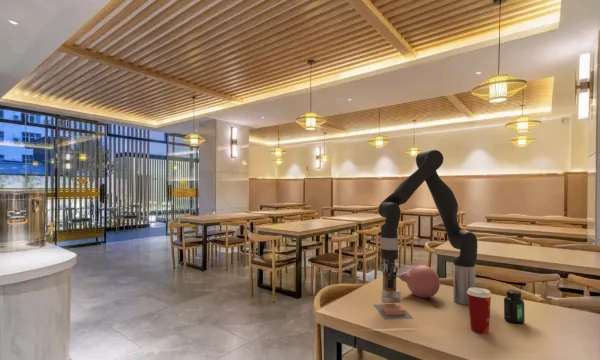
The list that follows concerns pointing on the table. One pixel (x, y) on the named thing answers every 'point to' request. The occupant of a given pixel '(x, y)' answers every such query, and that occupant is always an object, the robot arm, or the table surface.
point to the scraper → (390, 291)
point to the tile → (393, 309)
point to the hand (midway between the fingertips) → (389, 286)
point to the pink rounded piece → (421, 281)
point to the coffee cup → (479, 309)
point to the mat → (406, 316)
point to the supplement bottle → (514, 308)
